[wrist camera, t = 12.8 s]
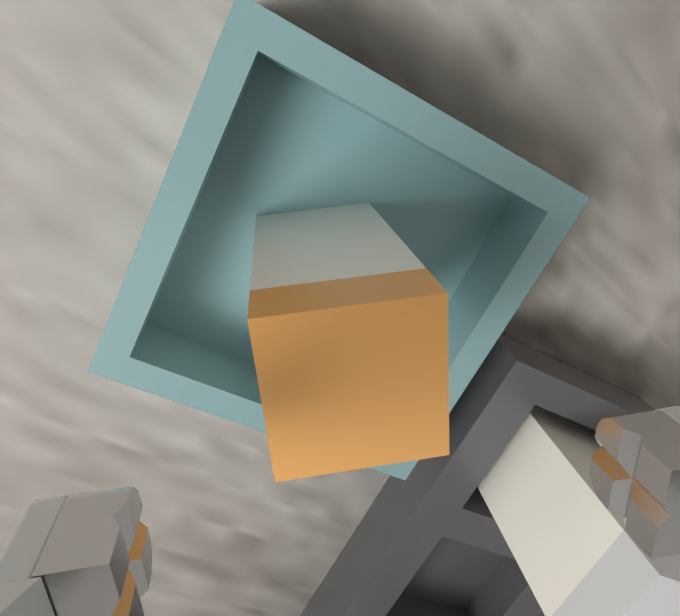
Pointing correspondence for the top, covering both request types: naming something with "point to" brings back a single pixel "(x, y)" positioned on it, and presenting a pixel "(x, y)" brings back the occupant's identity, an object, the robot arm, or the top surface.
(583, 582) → the block
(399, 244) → the block
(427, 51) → the top surface
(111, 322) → the tray
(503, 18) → the top surface
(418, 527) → the block
